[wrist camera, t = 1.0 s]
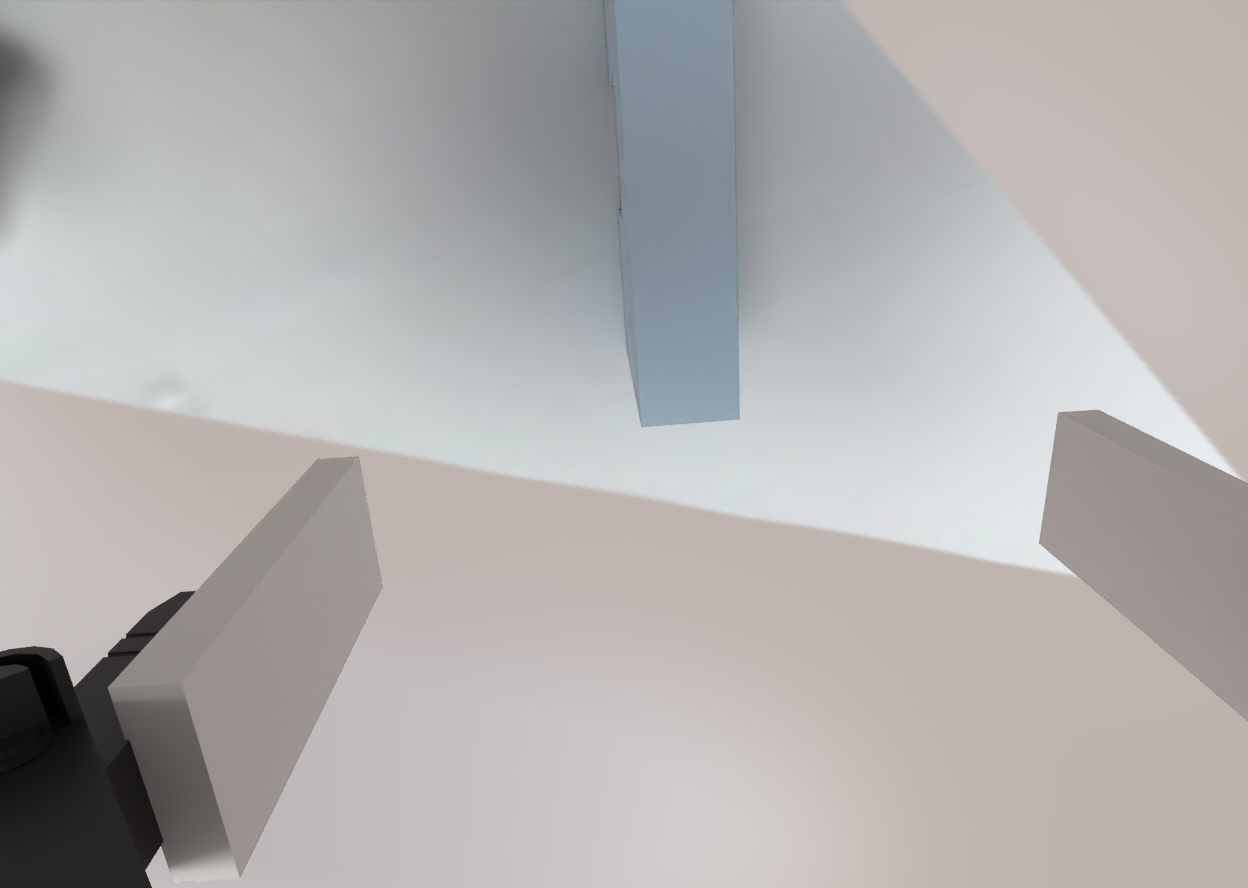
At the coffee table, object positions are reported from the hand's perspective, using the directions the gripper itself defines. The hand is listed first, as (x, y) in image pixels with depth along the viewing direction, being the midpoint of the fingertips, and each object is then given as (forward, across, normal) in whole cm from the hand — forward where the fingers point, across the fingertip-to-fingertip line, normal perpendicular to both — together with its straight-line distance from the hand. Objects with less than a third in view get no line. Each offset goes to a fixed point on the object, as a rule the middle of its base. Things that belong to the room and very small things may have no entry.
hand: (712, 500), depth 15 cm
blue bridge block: (+19, 0, +6) cm, 20 cm away
